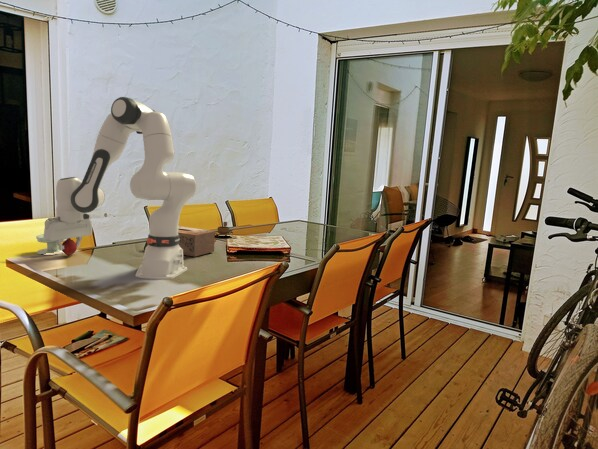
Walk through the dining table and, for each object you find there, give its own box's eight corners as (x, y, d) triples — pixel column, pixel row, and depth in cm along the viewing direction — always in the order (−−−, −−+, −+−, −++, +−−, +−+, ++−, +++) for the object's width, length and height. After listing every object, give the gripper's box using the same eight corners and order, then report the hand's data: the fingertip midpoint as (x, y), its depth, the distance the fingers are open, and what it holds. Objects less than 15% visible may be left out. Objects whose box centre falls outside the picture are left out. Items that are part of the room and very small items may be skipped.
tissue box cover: (214, 251, 210) (214, 231, 208) (195, 256, 197) (195, 235, 195) (172, 244, 220) (173, 225, 219) (152, 248, 208) (152, 228, 206)
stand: (59, 256, 182) (58, 238, 181) (32, 254, 181) (31, 237, 180) (71, 250, 193) (71, 234, 192) (46, 249, 192) (45, 233, 191)
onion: (79, 256, 183) (78, 237, 181) (64, 258, 178) (64, 239, 177) (74, 253, 186) (73, 235, 185) (59, 255, 182) (59, 236, 181)
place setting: (204, 234, 254) (205, 224, 253) (223, 230, 272) (223, 221, 272) (230, 238, 247) (230, 228, 247) (247, 234, 266) (248, 224, 265)
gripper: (50, 219, 169) (51, 253, 171) (94, 214, 188) (94, 245, 190) (39, 217, 172) (40, 251, 174) (84, 213, 190) (84, 243, 192)
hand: (69, 248), depth 182 cm, fingers closed on onion, 6 cm apart
